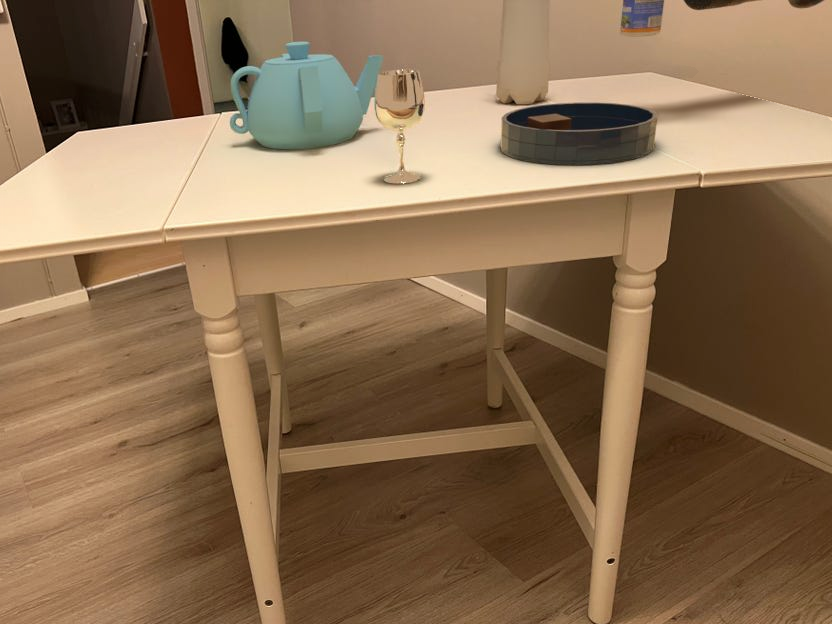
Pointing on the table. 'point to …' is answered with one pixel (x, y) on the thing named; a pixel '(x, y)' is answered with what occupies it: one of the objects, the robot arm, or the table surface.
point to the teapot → (303, 100)
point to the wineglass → (399, 110)
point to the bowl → (580, 134)
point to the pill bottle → (641, 17)
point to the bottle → (524, 52)
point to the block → (549, 122)
